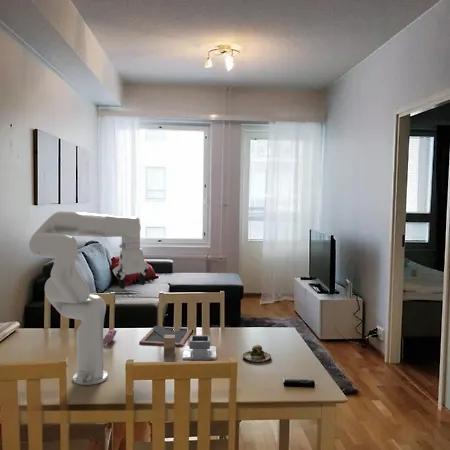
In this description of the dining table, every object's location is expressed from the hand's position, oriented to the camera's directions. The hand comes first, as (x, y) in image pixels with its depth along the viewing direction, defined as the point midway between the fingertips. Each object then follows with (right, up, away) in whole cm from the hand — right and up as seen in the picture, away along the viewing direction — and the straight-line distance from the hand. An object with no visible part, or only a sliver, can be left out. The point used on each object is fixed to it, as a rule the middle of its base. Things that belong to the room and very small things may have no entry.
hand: (131, 286), depth 202 cm
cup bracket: (+28, -30, +5) cm, 41 cm away
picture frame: (+12, -28, +27) cm, 41 cm away
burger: (+52, -31, -1) cm, 61 cm away
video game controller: (-14, -28, +18) cm, 37 cm away
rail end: (+15, -30, +3) cm, 33 cm away
